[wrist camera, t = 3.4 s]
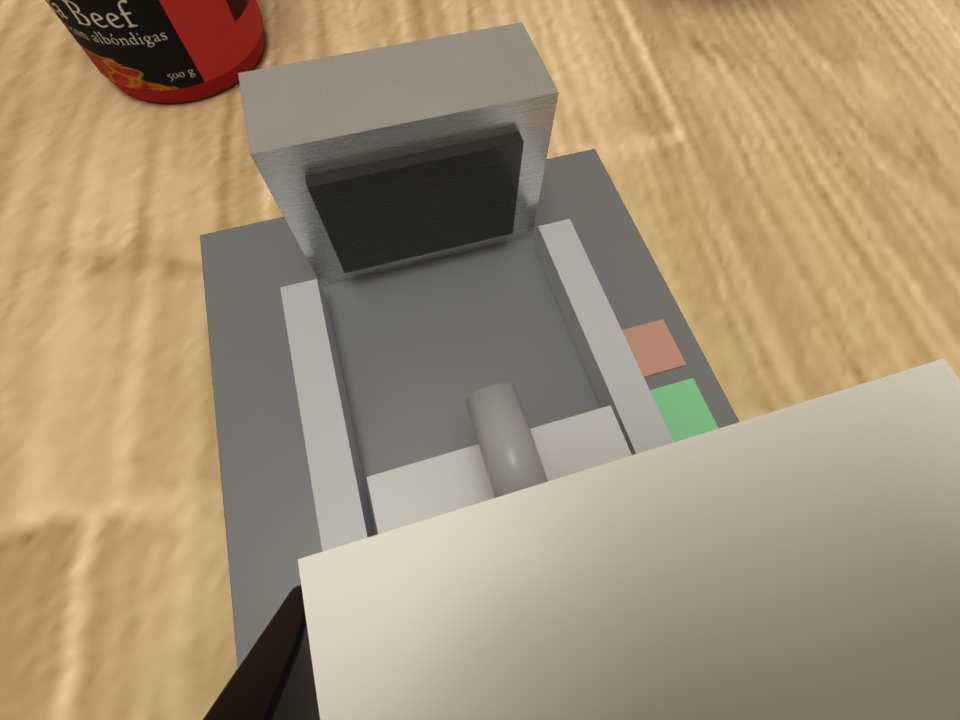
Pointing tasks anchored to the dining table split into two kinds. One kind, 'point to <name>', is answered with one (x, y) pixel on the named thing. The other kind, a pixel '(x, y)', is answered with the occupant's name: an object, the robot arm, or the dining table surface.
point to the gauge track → (427, 367)
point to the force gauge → (659, 569)
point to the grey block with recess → (404, 148)
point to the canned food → (167, 43)
